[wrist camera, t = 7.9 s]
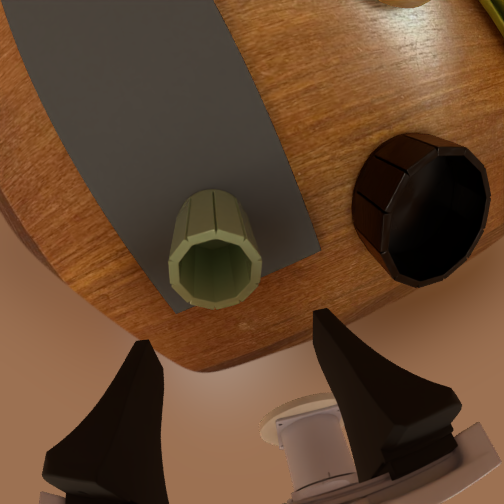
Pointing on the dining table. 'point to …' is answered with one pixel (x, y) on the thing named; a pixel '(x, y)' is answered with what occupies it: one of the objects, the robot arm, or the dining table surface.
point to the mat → (160, 121)
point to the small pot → (213, 251)
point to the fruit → (404, 3)
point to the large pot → (421, 207)
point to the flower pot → (495, 12)
